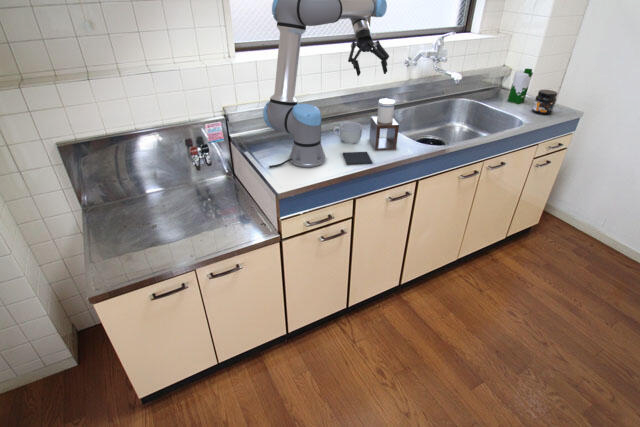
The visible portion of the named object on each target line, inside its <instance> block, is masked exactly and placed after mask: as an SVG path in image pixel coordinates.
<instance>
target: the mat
mask: <svg viewBox="0 0 640 427" xmlns="http://www.w3.org/2000/svg"><path fill="white" fill-rule="evenodd" d="M342 155H343V159H344V161H345V163H346V165H347V166H354V165H357V166H358V165H372V164H373V161H372V159H371V157H370V155H369V153H368V151H352V152H350V151H349V152H342Z"/></svg>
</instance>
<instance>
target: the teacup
mask: <svg viewBox="0 0 640 427" xmlns="http://www.w3.org/2000/svg"><path fill="white" fill-rule="evenodd" d="M336 130H338V132H339V133H337V132H336ZM362 132H363V125H362V124H361V123H358V122H356V121H344V122H341V123H340V125H339V126H334V127H333V128H332V133H333V135H335V137H338V139H340V140H341V141H342V142H343V143H345V144H348V145H352V144H356V143H358V142H360V140H361V139H362Z"/></svg>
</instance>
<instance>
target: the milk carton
mask: <svg viewBox="0 0 640 427" xmlns="http://www.w3.org/2000/svg"><path fill="white" fill-rule="evenodd" d="M533 75H534V71H533V68H524V70H522V69H521V70H518V71H514V74H513V80H512V83H511V87H510V91H509V94H508V98H507V102H508V103H512V104H516V105H520V104H523V103H524V102H525V99H526V96H527V93H528V90H529V87H530V85H531V84H530V83H531V80H532V78H533Z"/></svg>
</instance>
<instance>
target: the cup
mask: <svg viewBox="0 0 640 427" xmlns="http://www.w3.org/2000/svg"><path fill="white" fill-rule="evenodd" d="M377 104H378V105H377V115H376V116H377V121H378V122H380V123H391V122H393V118H394V113H395V105H396V101H395V100H394V99H391V98H380V99H379V100H378V103H377Z"/></svg>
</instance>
